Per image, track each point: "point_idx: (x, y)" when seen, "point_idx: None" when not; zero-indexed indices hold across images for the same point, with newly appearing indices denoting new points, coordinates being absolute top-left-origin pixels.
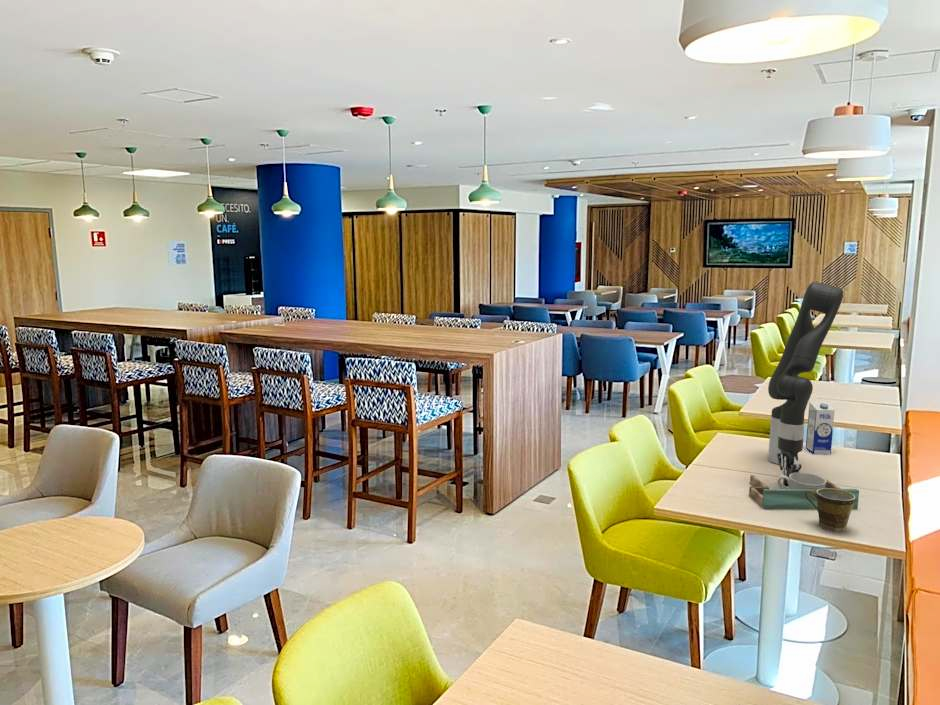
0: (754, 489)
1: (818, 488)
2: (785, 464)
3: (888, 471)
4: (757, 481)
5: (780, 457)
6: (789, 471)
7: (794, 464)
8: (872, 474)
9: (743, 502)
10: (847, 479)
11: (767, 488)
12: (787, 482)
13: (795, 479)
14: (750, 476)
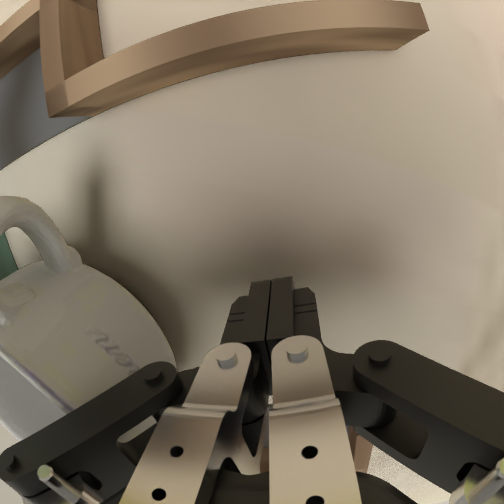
0: (18, 20)
1: (4, 402)
2: (159, 473)
3: (438, 500)
4: (231, 15)
5: (491, 477)
6: (114, 408)
7: (10, 486)
8: (432, 493)
9: (15, 3)
10: (416, 474)
11: (47, 103)
12: (7, 285)
13: (116, 382)
14: (411, 6)
